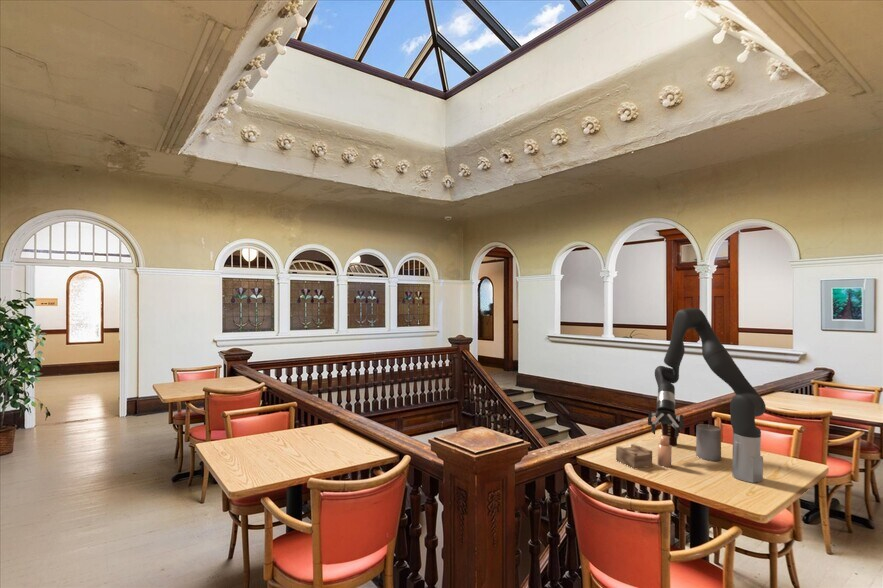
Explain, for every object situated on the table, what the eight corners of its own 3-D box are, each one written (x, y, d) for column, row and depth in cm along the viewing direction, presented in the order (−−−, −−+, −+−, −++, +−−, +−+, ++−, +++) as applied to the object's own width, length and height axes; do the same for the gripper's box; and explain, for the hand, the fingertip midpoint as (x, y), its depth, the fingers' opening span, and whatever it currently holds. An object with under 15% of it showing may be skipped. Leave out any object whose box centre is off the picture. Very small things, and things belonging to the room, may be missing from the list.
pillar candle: (710, 453, 211) (710, 420, 211) (726, 461, 201) (726, 426, 201) (691, 454, 210) (691, 421, 210) (705, 461, 200) (705, 427, 200)
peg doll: (674, 466, 193) (674, 437, 193) (665, 467, 191) (665, 439, 191) (663, 462, 198) (664, 434, 198) (654, 463, 196) (655, 435, 196)
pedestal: (652, 465, 193) (652, 451, 193) (634, 468, 189) (634, 453, 189) (633, 458, 202) (633, 443, 202) (616, 460, 198) (616, 446, 198)
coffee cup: (675, 441, 227) (676, 415, 227) (682, 447, 219) (683, 420, 219) (657, 441, 228) (657, 414, 228) (663, 446, 220) (664, 419, 220)
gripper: (648, 396, 211) (647, 428, 201) (683, 400, 205) (683, 433, 194) (649, 406, 216) (647, 437, 205) (683, 410, 209) (683, 442, 199)
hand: (665, 435), depth 200 cm, fingers open, 8 cm apart
